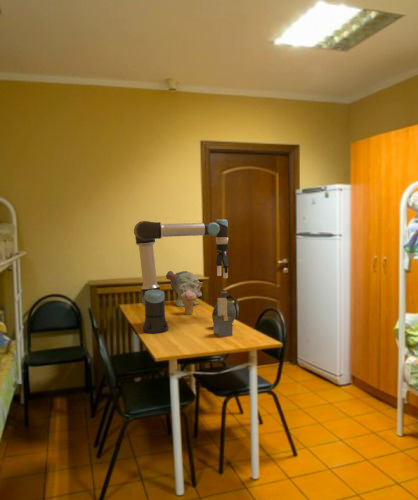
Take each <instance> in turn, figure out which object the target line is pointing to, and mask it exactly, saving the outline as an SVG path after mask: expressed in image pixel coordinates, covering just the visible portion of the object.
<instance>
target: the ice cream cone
mask: <svg viewBox="0 0 418 500" xmlns="http://www.w3.org/2000/svg"><path fill="white" fill-rule="evenodd" d="M183 287H184V286H183ZM184 289H185V287H184ZM185 291H186V292H185V293H183V294H182V295H181V299H182V303H183V304H184V306H183V307H184V313H185V315H186V316H191V315H193V313H194V306H195V305H194V303H195V302H196V301H197V298H198V296H197V297H196V294H195V293H193V292H191V289H187V290H186V289H185ZM195 299H196V300H195Z"/></svg>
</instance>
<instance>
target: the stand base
mask: <svg viewBox="0 0 418 500" xmlns="http://www.w3.org/2000/svg"><path fill="white" fill-rule="evenodd" d="M212 321H213V322H212V323H213V327H212V328H213V335H215V336H216V337H217V338H225V337H231V336H233V323H232V317H230V316H228V315H227V316H226V317H223V318H218V316H213V319H212Z"/></svg>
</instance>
